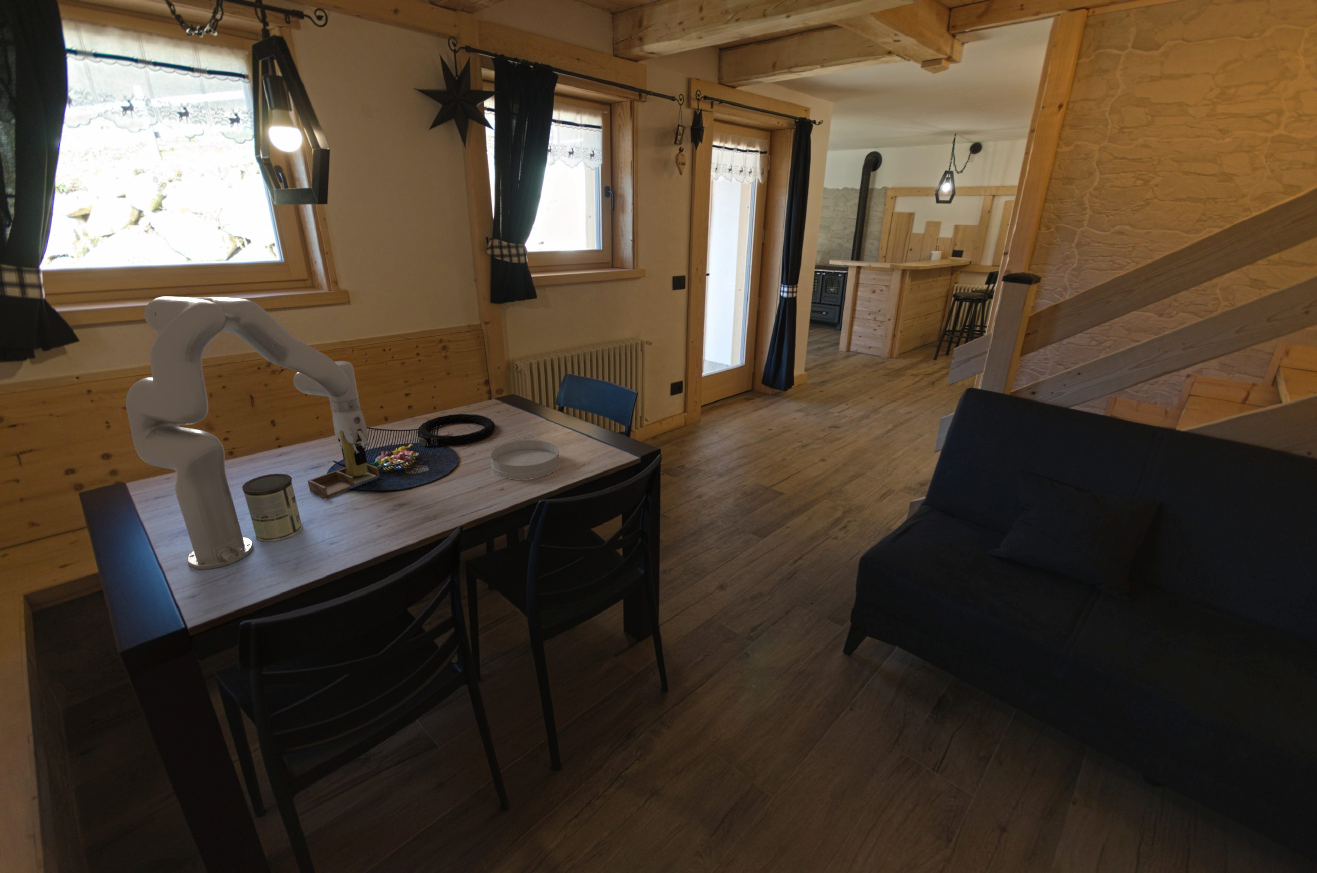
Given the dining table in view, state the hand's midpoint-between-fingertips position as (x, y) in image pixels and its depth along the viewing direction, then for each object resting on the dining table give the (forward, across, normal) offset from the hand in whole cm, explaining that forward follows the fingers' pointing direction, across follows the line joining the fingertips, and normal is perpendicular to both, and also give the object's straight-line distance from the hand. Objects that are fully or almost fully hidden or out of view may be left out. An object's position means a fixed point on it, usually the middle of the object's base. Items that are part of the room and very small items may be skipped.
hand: (355, 460), depth 174 cm
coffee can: (+7, -12, +29) cm, 32 cm away
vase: (+4, 0, 0) cm, 4 cm away
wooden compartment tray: (+6, 0, +4) cm, 8 cm away
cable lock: (+7, +8, -43) cm, 44 cm away
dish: (+7, -34, -37) cm, 51 cm away
